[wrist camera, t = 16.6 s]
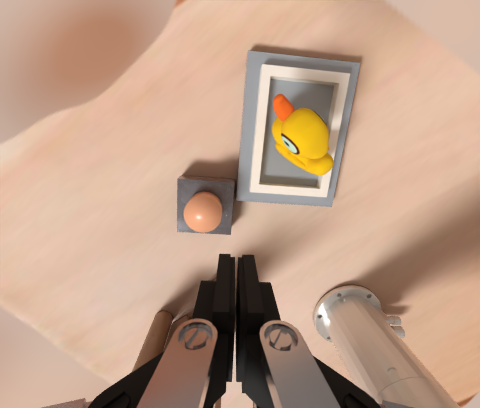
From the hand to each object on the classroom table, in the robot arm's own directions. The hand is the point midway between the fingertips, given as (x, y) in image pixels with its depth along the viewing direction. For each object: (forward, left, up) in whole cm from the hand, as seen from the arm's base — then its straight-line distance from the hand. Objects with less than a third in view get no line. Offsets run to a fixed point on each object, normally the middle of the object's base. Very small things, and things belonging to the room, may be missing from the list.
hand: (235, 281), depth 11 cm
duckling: (-8, -7, -24) cm, 26 cm away
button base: (+4, +3, -25) cm, 26 cm away
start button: (+4, +3, -22) cm, 23 cm away
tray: (-8, -8, -25) cm, 28 cm away
